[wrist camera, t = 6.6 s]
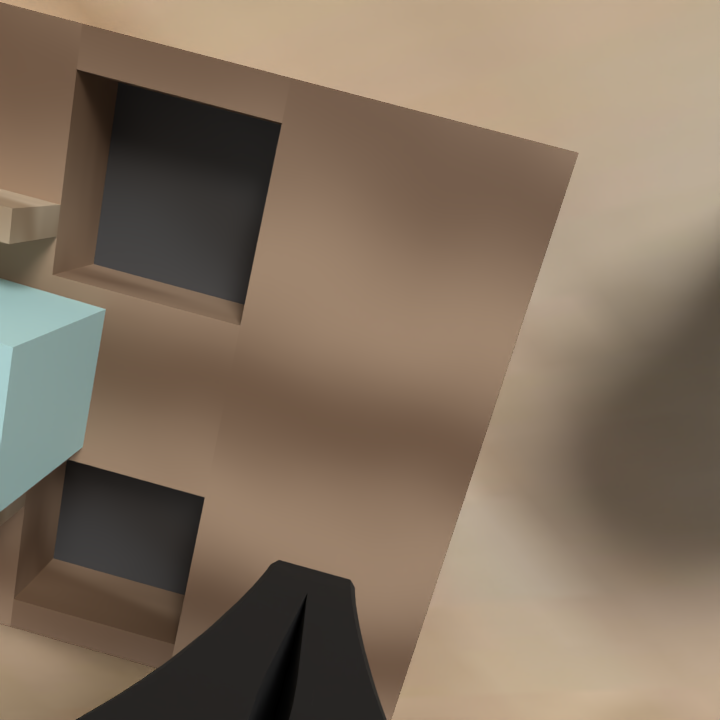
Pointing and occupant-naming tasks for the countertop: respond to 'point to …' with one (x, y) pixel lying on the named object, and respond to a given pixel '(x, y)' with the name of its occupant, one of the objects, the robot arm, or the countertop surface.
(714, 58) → the countertop surface
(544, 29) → the countertop surface
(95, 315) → the block
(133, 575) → the tray
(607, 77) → the countertop surface
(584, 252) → the countertop surface
